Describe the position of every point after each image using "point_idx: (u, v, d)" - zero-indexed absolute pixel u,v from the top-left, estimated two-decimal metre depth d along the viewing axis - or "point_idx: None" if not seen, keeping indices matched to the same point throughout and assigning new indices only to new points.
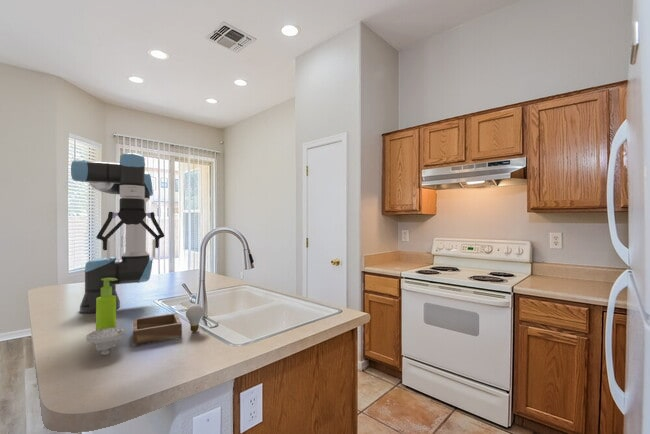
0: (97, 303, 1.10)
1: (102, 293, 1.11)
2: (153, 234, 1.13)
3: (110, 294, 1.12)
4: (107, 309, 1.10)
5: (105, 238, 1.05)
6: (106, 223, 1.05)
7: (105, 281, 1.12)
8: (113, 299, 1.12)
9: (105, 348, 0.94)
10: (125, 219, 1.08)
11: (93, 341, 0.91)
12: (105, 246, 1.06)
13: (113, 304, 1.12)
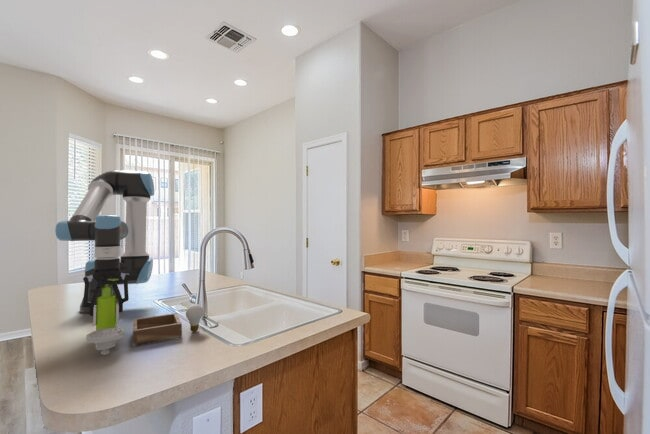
0: (98, 303, 1.10)
1: (103, 293, 1.11)
2: (118, 298, 1.13)
3: (111, 294, 1.12)
4: (107, 309, 1.10)
5: (91, 304, 1.09)
6: (86, 289, 1.08)
7: None
8: (114, 299, 1.12)
9: (105, 348, 0.94)
10: (101, 280, 1.10)
11: (93, 341, 0.91)
12: (92, 312, 1.09)
13: (113, 304, 1.12)
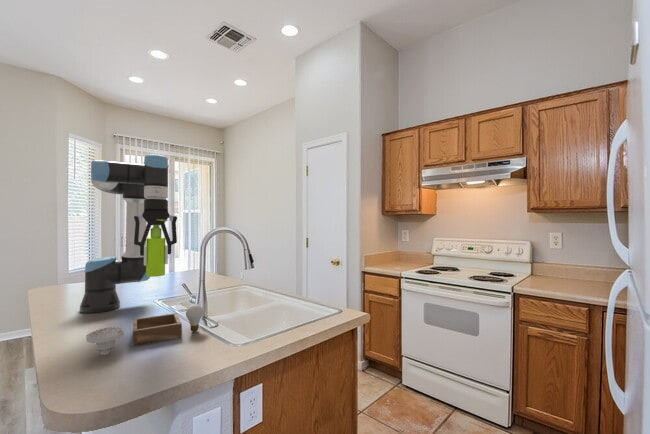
0: (148, 243, 1.09)
1: (152, 233, 1.10)
2: (167, 239, 1.12)
3: (160, 235, 1.11)
4: (158, 249, 1.09)
5: (142, 244, 1.08)
6: (136, 228, 1.07)
7: None
8: (163, 240, 1.11)
9: (105, 348, 0.94)
10: (151, 220, 1.09)
11: (93, 341, 0.91)
12: (142, 252, 1.08)
13: (163, 245, 1.11)
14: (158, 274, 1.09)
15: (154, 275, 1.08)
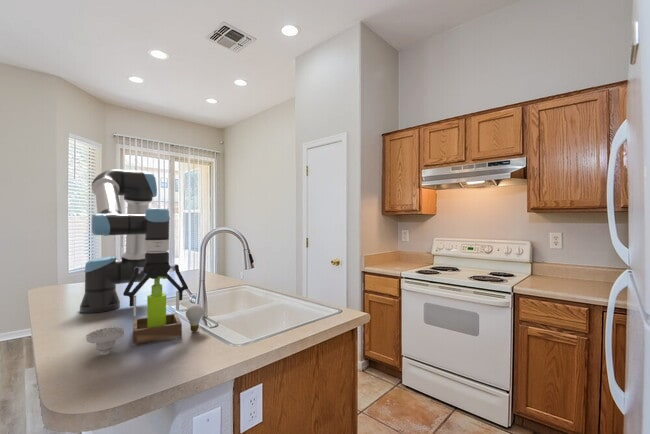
0: (149, 301, 1.09)
1: (153, 291, 1.10)
2: (177, 287, 1.13)
3: (161, 292, 1.11)
4: (159, 307, 1.09)
5: (132, 294, 1.06)
6: (132, 279, 1.06)
7: (156, 279, 1.10)
8: (164, 297, 1.11)
9: (105, 348, 0.94)
10: (151, 274, 1.08)
11: (93, 341, 0.91)
12: (132, 302, 1.06)
13: (164, 302, 1.11)
14: None
15: None
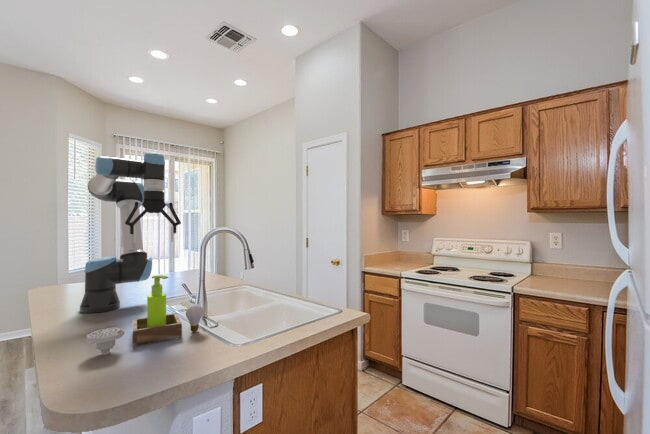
0: (149, 301, 1.09)
1: (153, 291, 1.10)
2: (171, 221, 1.32)
3: (161, 292, 1.11)
4: (159, 307, 1.09)
5: (132, 224, 1.25)
6: (133, 211, 1.25)
7: (156, 279, 1.10)
8: (164, 297, 1.11)
9: (105, 348, 0.94)
10: (148, 208, 1.27)
11: (93, 341, 0.91)
12: (132, 231, 1.25)
13: (164, 302, 1.11)
14: None
15: None
